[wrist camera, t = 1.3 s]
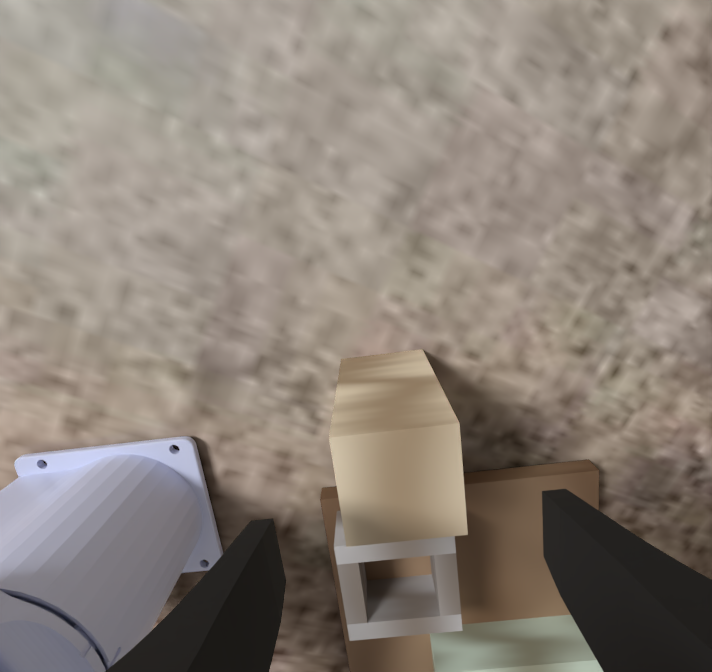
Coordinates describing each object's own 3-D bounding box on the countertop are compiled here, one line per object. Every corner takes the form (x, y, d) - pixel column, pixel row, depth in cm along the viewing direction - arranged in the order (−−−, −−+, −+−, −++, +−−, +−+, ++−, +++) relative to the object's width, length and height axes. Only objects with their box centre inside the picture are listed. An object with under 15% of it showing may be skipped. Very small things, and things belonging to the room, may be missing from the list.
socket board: (367, 755, 27) (368, 830, 24) (322, 488, 22) (315, 534, 19) (586, 738, 27) (619, 813, 23) (588, 459, 22) (630, 502, 18)
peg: (351, 432, 22) (346, 547, 14) (341, 359, 21) (328, 437, 13) (429, 424, 21) (467, 534, 14) (422, 349, 20) (459, 423, 13)
